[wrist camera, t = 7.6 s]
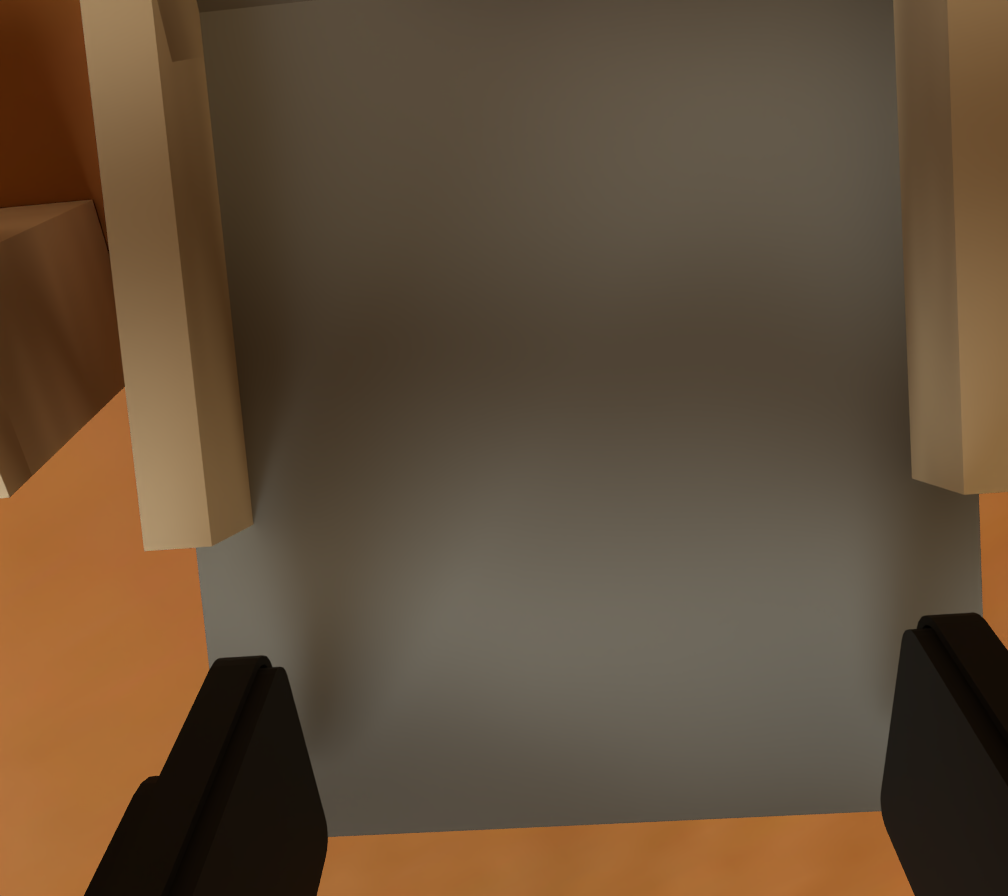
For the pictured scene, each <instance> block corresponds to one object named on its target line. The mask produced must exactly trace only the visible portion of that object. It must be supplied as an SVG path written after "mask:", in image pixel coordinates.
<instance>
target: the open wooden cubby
mask: <svg viewBox="0 0 1008 896" xmlns="http://www.w3.org/2000/svg"><path fill="white" fill-rule="evenodd" d="M124 387H125V382H124V373H123V365H122V356H121V348H120V339H119V331H118V322H117V313H116V305H115V296H114V288H113V279H112V271H111V262H110V256H109V253H108V250H107V246H106V243H105V240H104V236H103V233H102V230H101V226H100V223H99V220H98V216H97V213H96V210H95V206H94V203H93V200H82V201H72V202H61V203H51V204H40V205H30V206H19V207H9V208H0V498H10V497H11V496H12V495H13V494H14V493H15V492H16V491H17V490H18V489H19V488H20V487H21V486H22V485H23V484H24V483H25V482H26V481H27V480H28V479H29V478H30V477H31V476H32V475H34V474H35V473H36V472H37V471H38V470H39V469H40V468H41V467H42V466H43V465H44V464H45V463H46V462H47V461H48V460H49V459H50V458H51V457H52V456H53V455H54V454H55V453H56V452H57V451H58V450H59V449H60V448H62V447H63V446H64V445H65V444H66V443H67V442H68V441H69V440H70V439H71V438H72V437H73V436H74V435H75V434H76V433H77V432H78V431H79V430H80V429H81V428H82V427H83V426H84V425H85V424H86V423H87V422H88V421H90V420H91V419H92V418H93V417H94V416H95V415H96V414H97V413H98V412H99V411H100V410H101V409H102V408H103V407H104V406H105V405H106V404H107V403H108V402H109V401H110V400H111V399H112V398H113V397H114V396H115V395H116V394H118V393H119V392H120V391H121V390H122V389H123V388H124Z"/></svg>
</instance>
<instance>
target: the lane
mask: <svg viewBox="0 0 1008 896" xmlns="http://www.w3.org/2000/svg"><path fill="white" fill-rule="evenodd" d="M80 6H81V14H82V23H83V32H84V40H85V49H86V57H87V66H88V74H89V83H90V91H91V100H92V108H93V117H94V126H95V134H96V143H97V151H98V160H99V168H100V177H101V185H102V194H103V202H104V211H105V219H106V228H107V237H108V245H109V254H110V262H111V271H112V279H113V288H114V296H115V305H116V313H117V322H118V331H119V339H120V348H121V356H122V365H123V373H124V382H125V390H126V399H127V407H128V416H129V424H130V433H131V442H132V450H133V459H134V467H135V476H136V484H137V493H138V501H139V510H140V518H141V527H142V536H143V544H144V551H152V550H167V549H181V548H196V552H197V561H198V570H199V579H200V588H201V597H202V606H203V615H204V624H205V633H206V642H207V651H208V660H209V669H210V668H211V666H212V664H213V663H214V661H215V660H217V659H218V658H226V657H243V656H259V655H264V656H267V657H268V658H269V660H270V662H271V664H272V667H283V668H284V669H285V670H286V673H287V675H288V679H289V683H290V686H291V690H292V694H293V698H294V701H295V705H296V709H297V713H298V716H299V720H300V724H301V728H302V731H303V735H304V739H305V743H306V746H307V750H308V754H309V758H310V761H311V765H312V769H313V773H314V777H315V780H316V784H317V788H318V792H319V795H320V799H321V803H322V807H323V810H324V814H325V818H326V822H327V830H328V837H336V836H357V835H379V834H400V833H421V832H443V831H464V830H486V829H507V828H529V827H550V826H572V825H593V824H614V823H636V822H657V821H679V820H700V819H722V818H743V817H764V816H786V815H807V814H829V813H850V812H872V811H881V802H880V796H881V787H882V780H883V772H884V765H885V758H886V751H887V743H888V736H889V729H890V721H891V714H892V707H893V700H894V692H895V685H896V678H897V670H898V663H899V656H900V648H901V641H902V636H903V633H904V632H905V630H908V629H917V625H918V621H919V620H920V618H921V617H922V616H925V615H939V614H956V613H972V612H974V613H977V614H979V615H981V616H982V617H983V609H982V578H981V548H980V517H979V494H983V493H997V492H1008V0H80Z"/></svg>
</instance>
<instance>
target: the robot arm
mask: <svg viewBox="0 0 1008 896" xmlns="http://www.w3.org/2000/svg"><path fill="white" fill-rule="evenodd" d="M880 802H881V811H882V817H883V820H884V824H885V827H886V830H887V832H888V835H889V837H890V839H891V842H892V844H893V846H894V848H895V851H896V853H897V855H898V858H899V860H900V862H901V865H902V867H903V869H904V872H905V874H906V876H907V879H908V881H909V883H910V886H911V888H912V890H913V892H914V895H915V896H1008V650H1007V649H1006V648H1005V646H1004V645H1003V644H1002V642H1001V641H1000V640H999V638H998V637H997V635H996V634H995V633H994V631H993V630H992V629H991V627H990V626H989V625H988V623H987V622H986V621H985V620H984V618H983V617H982V616H981V615H979V614H977V613H974V612H972V613H956V614H939V615H925V616H922V617H921V618H920V620H919V621H918V625H917V629H908V630H905V632H904V633H903V636H902V641H901V648H900V656H899V663H898V670H897V678H896V685H895V692H894V700H893V707H892V714H891V721H890V729H889V736H888V743H887V751H886V758H885V765H884V772H883V780H882V787H881V796H880ZM327 843H328V830H327V822H326V818H325V814H324V810H323V807H322V803H321V799H320V795H319V792H318V788H317V784H316V780H315V777H314V773H313V769H312V765H311V761H310V758H309V754H308V750H307V746H306V743H305V739H304V735H303V731H302V728H301V724H300V720H299V716H298V713H297V709H296V705H295V701H294V698H293V694H292V690H291V686H290V683H289V679H288V675H287V673H286V670H285V669H284V668H283V667H272V664H271V662H270V660H269V658H268V657H267V656H264V655H259V656H243V657H226V658H218V659H217V660H215V661H214V663H213V664H212V666H211V668H210V670H209V672H208V674H207V676H206V678H205V680H204V683H203V685H202V687H201V689H200V691H199V693H198V695H197V697H196V699H195V702H194V704H193V706H192V708H191V710H190V712H189V714H188V716H187V718H186V721H185V723H184V725H183V727H182V729H181V731H180V733H179V735H178V737H177V740H176V742H175V744H174V746H173V748H172V750H171V752H170V754H169V757H168V759H167V761H166V763H165V765H164V767H163V769H162V771H161V773H160V776H152V777H148V778H147V779H146V780H145V781H143V782H142V783H141V784H140V786H139V788H138V789H137V791H136V792H135V794H134V795H133V797H132V799H131V801H130V803H129V805H128V807H127V809H126V811H125V813H124V816H123V818H122V820H121V822H120V824H119V826H118V828H117V830H116V832H115V834H114V836H113V838H112V840H111V842H110V844H109V846H108V848H107V850H106V852H105V854H104V856H103V858H102V860H101V862H100V864H99V866H98V868H97V870H96V872H95V874H94V876H93V878H92V880H91V882H90V884H89V886H88V888H87V890H86V892H85V894H84V896H317V892H318V887H319V883H320V879H321V875H322V870H323V866H324V862H325V858H326V852H327Z"/></svg>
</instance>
